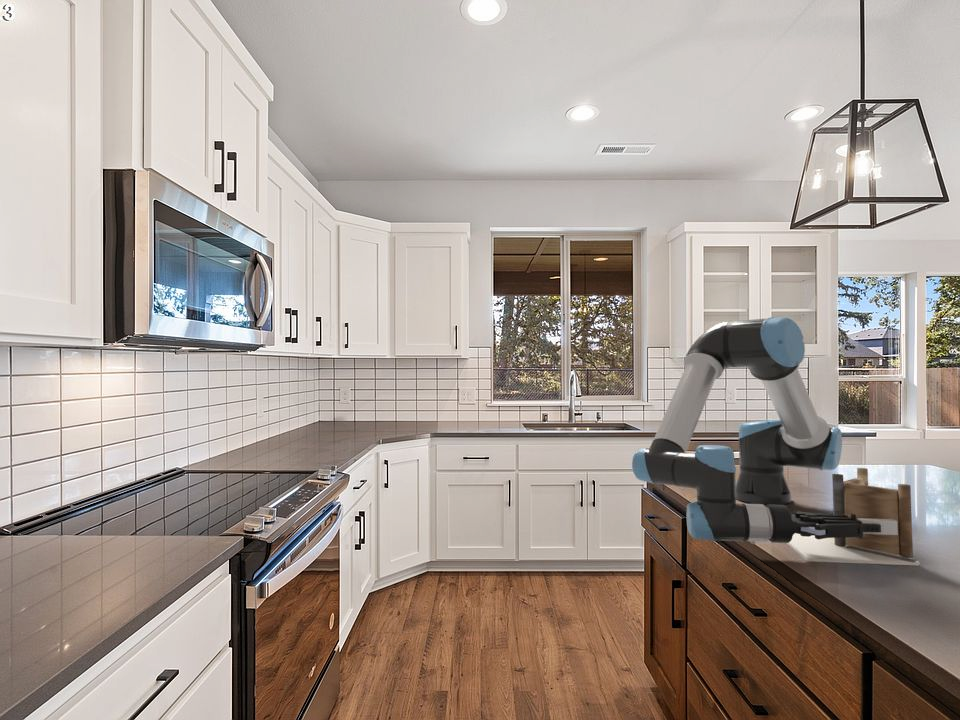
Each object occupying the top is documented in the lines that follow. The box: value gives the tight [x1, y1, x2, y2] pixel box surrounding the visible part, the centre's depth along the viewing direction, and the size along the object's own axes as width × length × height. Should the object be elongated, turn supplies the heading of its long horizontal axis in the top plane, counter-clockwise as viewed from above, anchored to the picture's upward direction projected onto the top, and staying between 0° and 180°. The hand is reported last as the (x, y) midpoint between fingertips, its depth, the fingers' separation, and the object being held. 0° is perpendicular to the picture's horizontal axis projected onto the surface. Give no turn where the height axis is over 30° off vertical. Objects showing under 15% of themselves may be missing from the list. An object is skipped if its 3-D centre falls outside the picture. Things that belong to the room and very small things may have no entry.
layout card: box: [785, 533, 921, 566], centre depth 122 cm, size 22×20×1 cm
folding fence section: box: [845, 483, 914, 559], centre depth 116 cm, size 11×2×14 cm, turn 35°
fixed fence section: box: [831, 467, 869, 547], centre depth 125 cm, size 14×2×15 cm, turn 125°
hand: (895, 527), depth 112 cm, fingers closed
